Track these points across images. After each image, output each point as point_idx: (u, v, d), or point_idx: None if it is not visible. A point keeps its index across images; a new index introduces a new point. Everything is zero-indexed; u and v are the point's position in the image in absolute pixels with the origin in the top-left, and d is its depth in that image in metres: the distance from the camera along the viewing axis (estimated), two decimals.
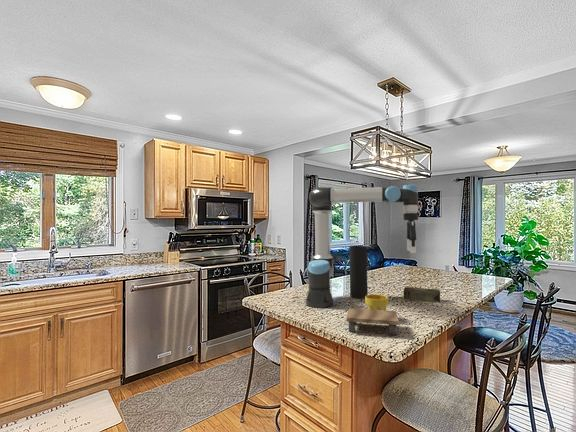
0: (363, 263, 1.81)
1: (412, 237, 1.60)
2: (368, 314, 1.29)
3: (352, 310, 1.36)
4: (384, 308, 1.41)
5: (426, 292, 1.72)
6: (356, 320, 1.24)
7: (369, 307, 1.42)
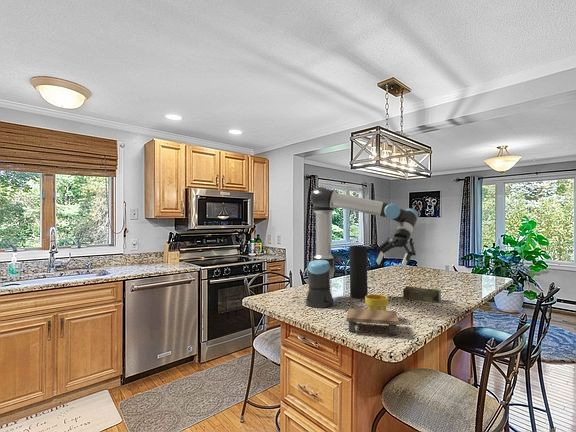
0: (363, 263, 1.81)
1: (414, 251, 1.50)
2: (368, 314, 1.29)
3: (352, 310, 1.36)
4: (384, 308, 1.41)
5: (425, 292, 1.72)
6: (356, 320, 1.24)
7: (369, 307, 1.42)
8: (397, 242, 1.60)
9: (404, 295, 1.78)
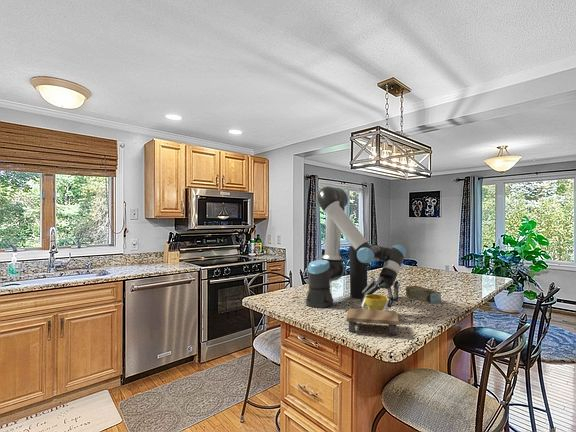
0: (363, 263, 1.81)
1: None
2: (368, 314, 1.29)
3: (352, 310, 1.36)
4: None
5: (420, 292, 1.73)
6: (356, 320, 1.24)
7: (369, 307, 1.42)
8: (382, 283, 1.49)
9: (406, 293, 1.84)
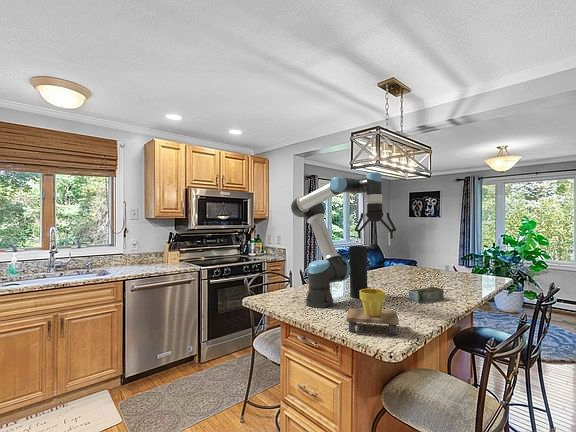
0: (363, 263, 1.81)
1: (395, 228, 1.53)
2: None
3: (352, 310, 1.36)
4: (380, 303, 1.26)
5: None
6: (356, 320, 1.24)
7: (364, 302, 1.28)
8: (374, 219, 1.56)
9: None
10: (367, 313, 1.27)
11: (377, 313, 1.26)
